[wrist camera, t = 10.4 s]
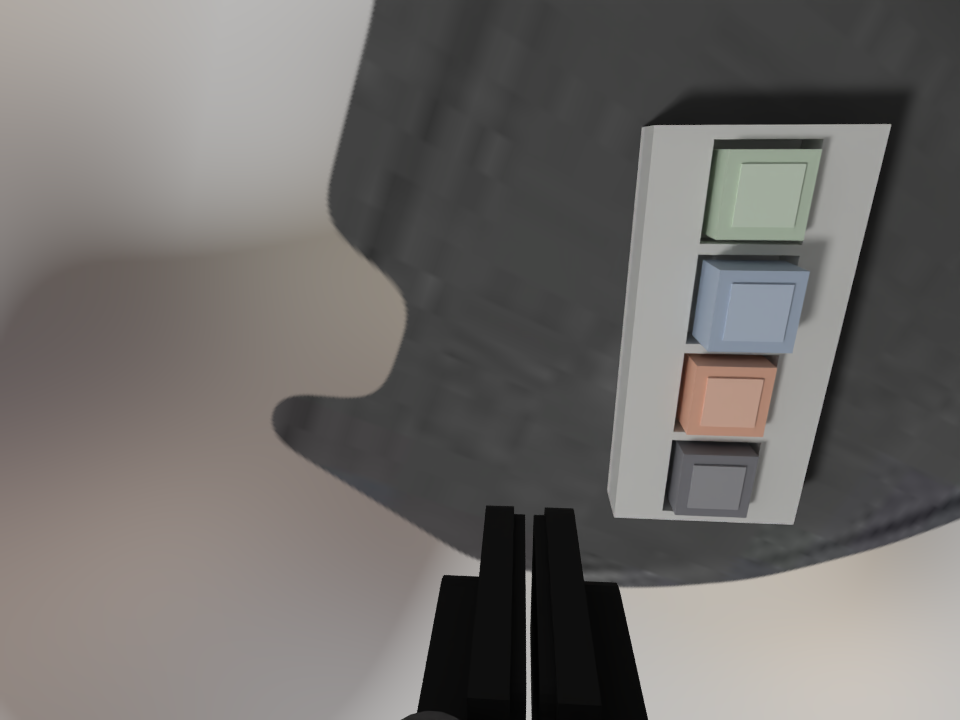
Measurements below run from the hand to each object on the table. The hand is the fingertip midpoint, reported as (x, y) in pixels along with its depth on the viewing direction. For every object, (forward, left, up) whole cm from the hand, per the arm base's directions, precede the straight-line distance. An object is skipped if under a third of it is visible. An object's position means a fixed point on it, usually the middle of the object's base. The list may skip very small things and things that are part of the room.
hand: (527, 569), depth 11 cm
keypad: (-13, +4, -27) cm, 30 cm away
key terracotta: (-13, +7, -26) cm, 29 cm away
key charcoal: (-13, +13, -26) cm, 31 cm away
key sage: (-13, -5, -26) cm, 29 cm away
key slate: (-13, +1, -24) cm, 27 cm away
